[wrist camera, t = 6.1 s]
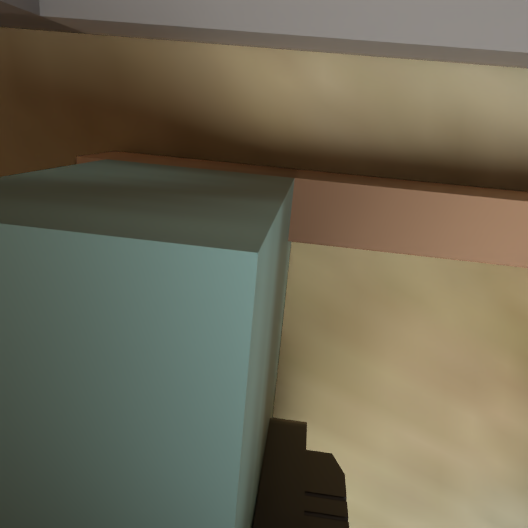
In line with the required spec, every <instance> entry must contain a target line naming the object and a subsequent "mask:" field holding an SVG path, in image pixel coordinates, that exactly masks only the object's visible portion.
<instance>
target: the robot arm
mask: <svg viewBox="0 0 528 528" xmlns="http://www.w3.org/2000/svg"><path fill="white" fill-rule="evenodd" d="M306 433H307V422H300V421H293V420H285V419H278V418H271V417H270V421H269V427H268V433H267V440H266V446H265V453H264V459H263V465H262V472H261V478H260V485H259V491H258V497H257V504H256V510H255V517H254V523H253V528H349V522H348V509H347V502H346V485H345V474H344V473H343V471H342V469H341V468H340V466H339V464H338V463H337V461H336V460H335V458H334V456H333V455H332V453H324V452H317V451H310V450H306Z"/></svg>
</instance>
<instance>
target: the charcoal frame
mask: <svg viewBox="0 0 528 528" xmlns="http://www.w3.org/2000/svg"><path fill="white" fill-rule="evenodd" d="M0 27H7V28H20V29H33V30H46V31H59V32H71V33H84V34H97V35H110V36H122V37H135V38H148V39H161V40H174V41H186V42H199V43H212V44H225V45H237V46H250V47H263V48H276V49H289V50H301V51H314V52H327V53H340V54H352V55H365V56H378V57H391V58H404V59H416V60H429V61H442V62H455V63H467V64H480V65H493V66H506V67H519V68H528V0H0Z"/></svg>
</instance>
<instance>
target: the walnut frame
mask: <svg viewBox="0 0 528 528" xmlns="http://www.w3.org/2000/svg"><path fill="white" fill-rule="evenodd" d="M291 242H300V243H309V244H318V245H327V246H336V247H345V248H354V249H363V250H372V251H381V252H390V253H399V254H408V255H417V256H426V257H435V258H444V259H453V260H462V261H470V262H479V263H488V264H497V265H506V266H515V267H524V268H528V192H524V191H513V190H503V189H493V188H483V187H473V186H463V185H453V184H443V183H432V182H422V181H412V180H402V179H392V178H382V177H372V176H362V175H352V174H341V173H331V172H321V171H311V170H301V169H291V168H281V167H271V166H261V165H250V164H240V163H230V162H220V161H210V160H200V159H190V158H180V157H169V156H159V155H149V154H139V153H129V152H119V151H111V152H104V153H96V154H89V155H81V156H76V164H75V165H69V166H63V167H57V168H51V169H45V170H39V171H33V172H27V173H21V174H15V175H9V176H3V177H0V528H253V523H254V517H255V510H256V504H257V497H258V491H259V485H260V478H261V472H262V465H263V459H264V453H265V446H266V440H267V433H268V427H269V421H270V417H271V418H273V409H274V399H275V390H276V380H277V371H278V361H279V352H280V342H281V333H282V324H283V314H284V305H285V295H286V286H287V276H288V267H289V257H290V248H291Z"/></svg>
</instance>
